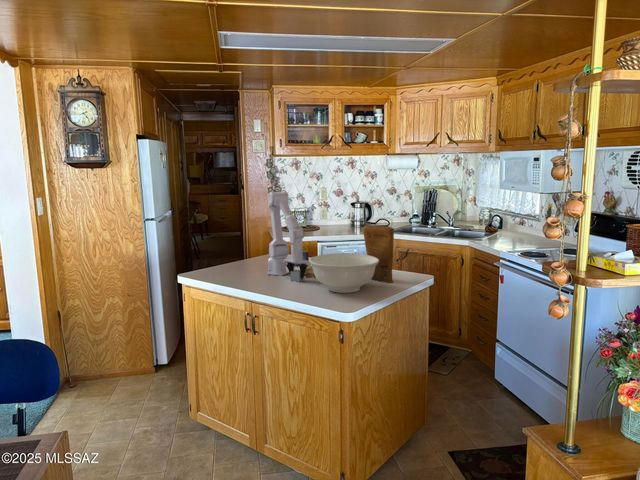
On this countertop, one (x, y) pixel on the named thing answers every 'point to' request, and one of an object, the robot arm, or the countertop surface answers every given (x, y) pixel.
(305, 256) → the flask
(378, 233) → the pancake mix bag
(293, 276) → the slate block
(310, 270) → the oak slab
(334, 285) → the bowl
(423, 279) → the countertop surface
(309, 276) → the walnut slab
